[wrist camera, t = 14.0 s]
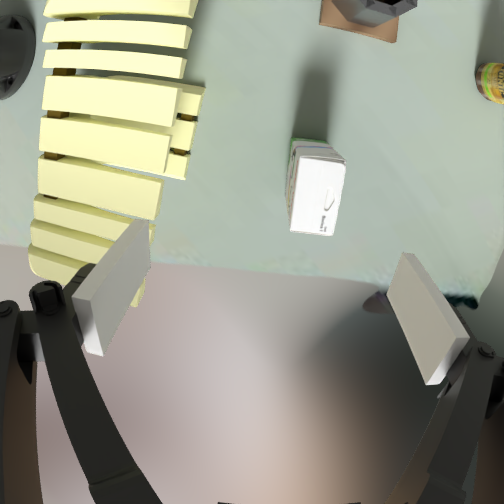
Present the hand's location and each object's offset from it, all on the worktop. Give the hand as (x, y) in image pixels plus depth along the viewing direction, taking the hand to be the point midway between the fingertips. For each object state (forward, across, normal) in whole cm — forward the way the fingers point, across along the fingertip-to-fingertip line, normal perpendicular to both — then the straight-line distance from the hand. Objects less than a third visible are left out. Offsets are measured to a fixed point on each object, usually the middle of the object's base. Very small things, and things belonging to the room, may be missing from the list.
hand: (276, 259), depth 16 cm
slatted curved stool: (+29, -18, +2) cm, 34 cm away
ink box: (+29, +5, -2) cm, 29 cm away
